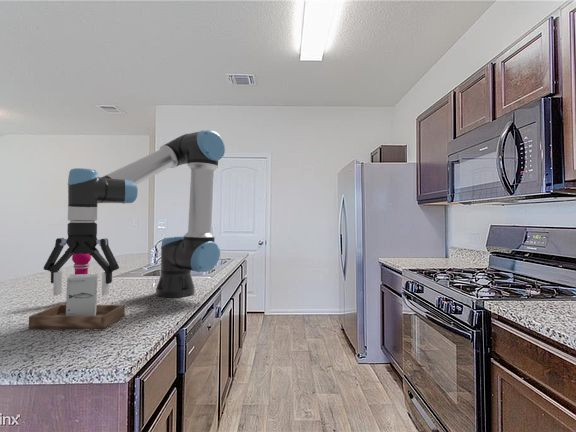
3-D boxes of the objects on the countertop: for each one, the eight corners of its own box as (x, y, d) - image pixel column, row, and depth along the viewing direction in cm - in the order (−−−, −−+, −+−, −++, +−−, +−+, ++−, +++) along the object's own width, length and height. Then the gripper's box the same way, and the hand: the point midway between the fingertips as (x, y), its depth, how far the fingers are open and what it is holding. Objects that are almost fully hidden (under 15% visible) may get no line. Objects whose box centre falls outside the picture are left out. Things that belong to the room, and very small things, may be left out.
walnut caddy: (124, 316, 113) (124, 304, 113) (104, 329, 99) (104, 317, 99) (58, 315, 112) (58, 304, 112) (28, 329, 98) (28, 316, 98)
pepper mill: (64, 302, 129) (65, 246, 129) (82, 298, 135) (83, 245, 136) (78, 304, 126) (79, 247, 126) (96, 300, 133) (97, 246, 133)
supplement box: (64, 323, 101) (65, 278, 101) (69, 316, 108) (70, 274, 108) (94, 321, 104) (95, 276, 104) (97, 314, 110) (98, 273, 111)
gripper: (131, 222, 110) (129, 292, 110) (46, 221, 109) (45, 291, 109) (121, 222, 103) (119, 297, 103) (29, 221, 101) (28, 297, 101)
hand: (81, 294), depth 106 cm, fingers open, 13 cm apart
